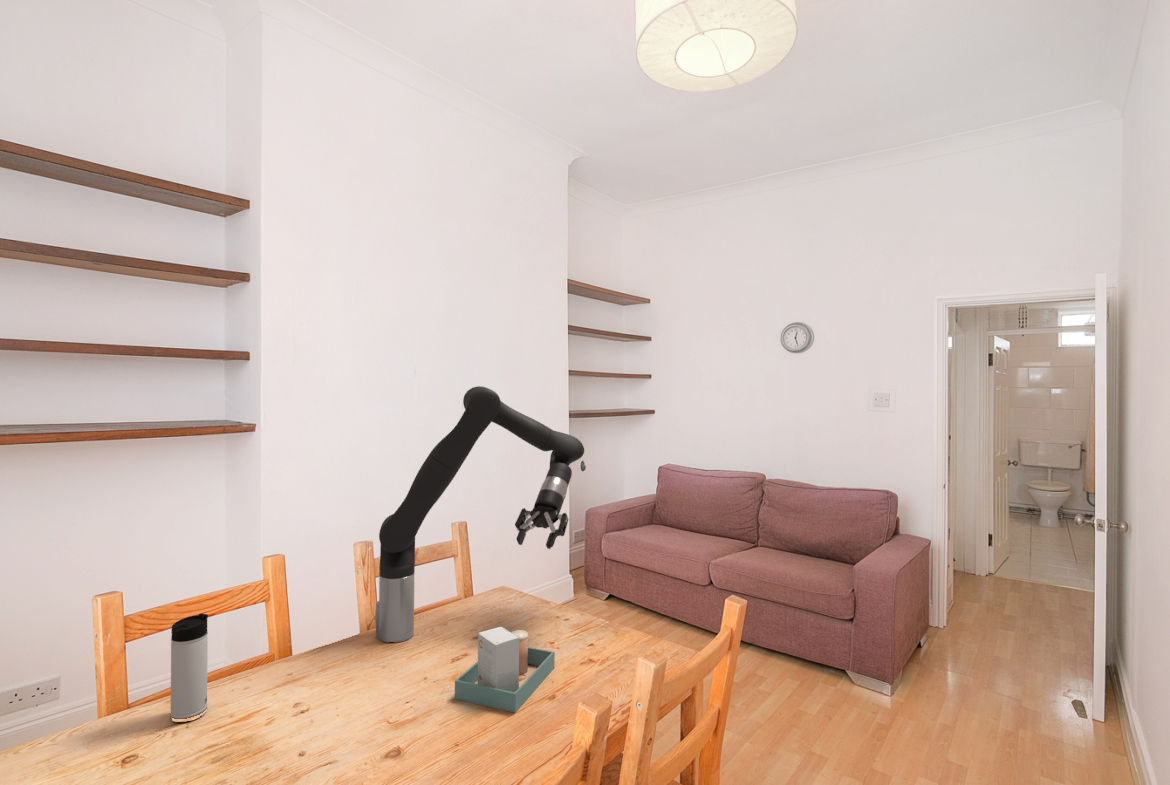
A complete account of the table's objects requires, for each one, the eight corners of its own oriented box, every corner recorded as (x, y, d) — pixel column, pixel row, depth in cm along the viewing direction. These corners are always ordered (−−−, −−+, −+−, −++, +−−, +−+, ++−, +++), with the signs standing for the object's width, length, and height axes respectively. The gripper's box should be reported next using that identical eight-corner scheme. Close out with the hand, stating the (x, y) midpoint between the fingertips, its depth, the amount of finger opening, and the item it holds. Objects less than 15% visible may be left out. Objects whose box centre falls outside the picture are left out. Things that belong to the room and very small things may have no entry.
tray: (454, 698, 128) (454, 680, 128) (500, 657, 148) (500, 641, 148) (515, 712, 123) (515, 694, 123) (554, 667, 142) (554, 651, 142)
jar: (506, 673, 140) (506, 636, 139) (514, 665, 144) (515, 629, 144) (522, 676, 138) (523, 639, 138) (530, 668, 142) (531, 631, 142)
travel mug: (215, 709, 122) (216, 615, 122) (185, 726, 116) (185, 627, 116) (194, 703, 124) (195, 611, 124) (163, 720, 118) (163, 623, 118)
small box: (519, 695, 130) (520, 637, 130) (494, 704, 126) (495, 645, 126) (500, 680, 136) (501, 625, 136) (476, 689, 132) (477, 632, 132)
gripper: (525, 486, 167) (505, 534, 156) (571, 490, 162) (554, 541, 151) (533, 501, 172) (514, 549, 161) (577, 505, 167) (561, 556, 156)
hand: (533, 545), depth 156 cm, fingers open, 8 cm apart
